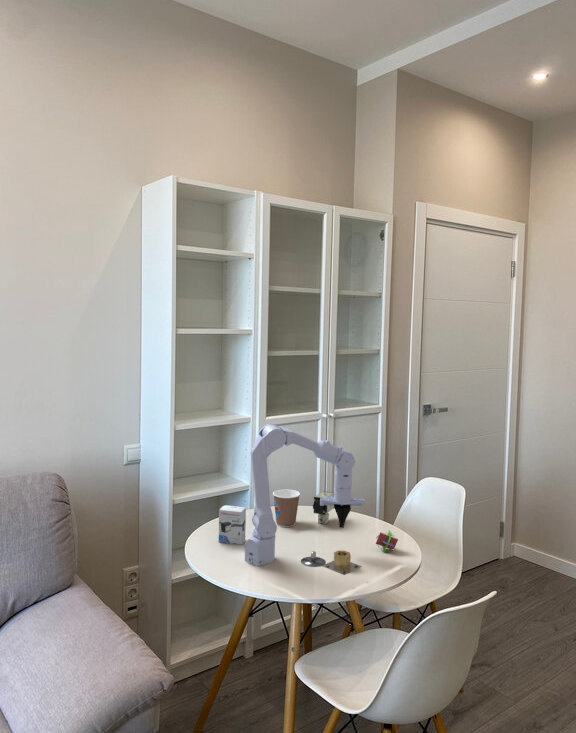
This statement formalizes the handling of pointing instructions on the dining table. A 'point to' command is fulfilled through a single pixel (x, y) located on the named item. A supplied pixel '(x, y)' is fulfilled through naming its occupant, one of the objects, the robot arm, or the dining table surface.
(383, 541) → the geometric puzzle
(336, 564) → the brass collar
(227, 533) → the ink box
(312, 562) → the stand
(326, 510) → the pneumatic valve
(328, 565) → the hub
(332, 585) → the dining table surface
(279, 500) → the coffee cup
